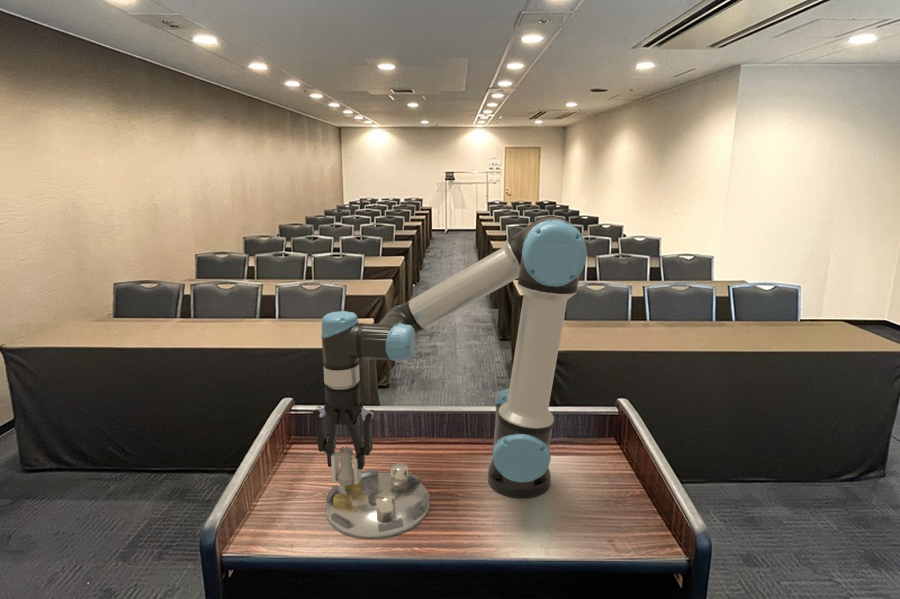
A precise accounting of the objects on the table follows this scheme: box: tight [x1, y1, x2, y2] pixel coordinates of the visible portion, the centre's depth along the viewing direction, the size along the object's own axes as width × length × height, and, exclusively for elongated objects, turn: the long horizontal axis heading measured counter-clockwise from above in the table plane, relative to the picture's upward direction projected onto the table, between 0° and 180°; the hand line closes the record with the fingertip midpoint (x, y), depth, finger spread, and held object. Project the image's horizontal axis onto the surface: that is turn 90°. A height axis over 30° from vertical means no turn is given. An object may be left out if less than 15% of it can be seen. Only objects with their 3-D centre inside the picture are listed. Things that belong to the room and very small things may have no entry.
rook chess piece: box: [336, 446, 354, 486], centre depth 124 cm, size 4×4×8 cm
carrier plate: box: [325, 462, 430, 540], centre depth 125 cm, size 23×23×6 cm
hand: (347, 480), depth 125 cm, fingers closed on rook chess piece, 4 cm apart
